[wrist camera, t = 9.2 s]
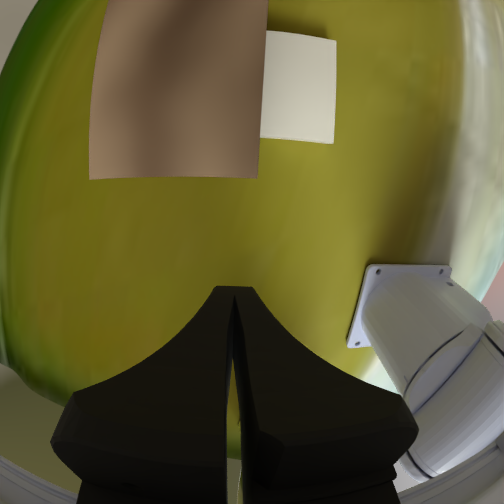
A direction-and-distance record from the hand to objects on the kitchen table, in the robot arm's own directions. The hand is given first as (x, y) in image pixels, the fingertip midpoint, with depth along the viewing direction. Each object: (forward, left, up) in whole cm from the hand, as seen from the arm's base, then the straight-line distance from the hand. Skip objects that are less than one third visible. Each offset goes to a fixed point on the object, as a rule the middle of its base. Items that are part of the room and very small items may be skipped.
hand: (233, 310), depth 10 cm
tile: (0, -10, -10) cm, 14 cm away
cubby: (+3, -10, -9) cm, 14 cm away
